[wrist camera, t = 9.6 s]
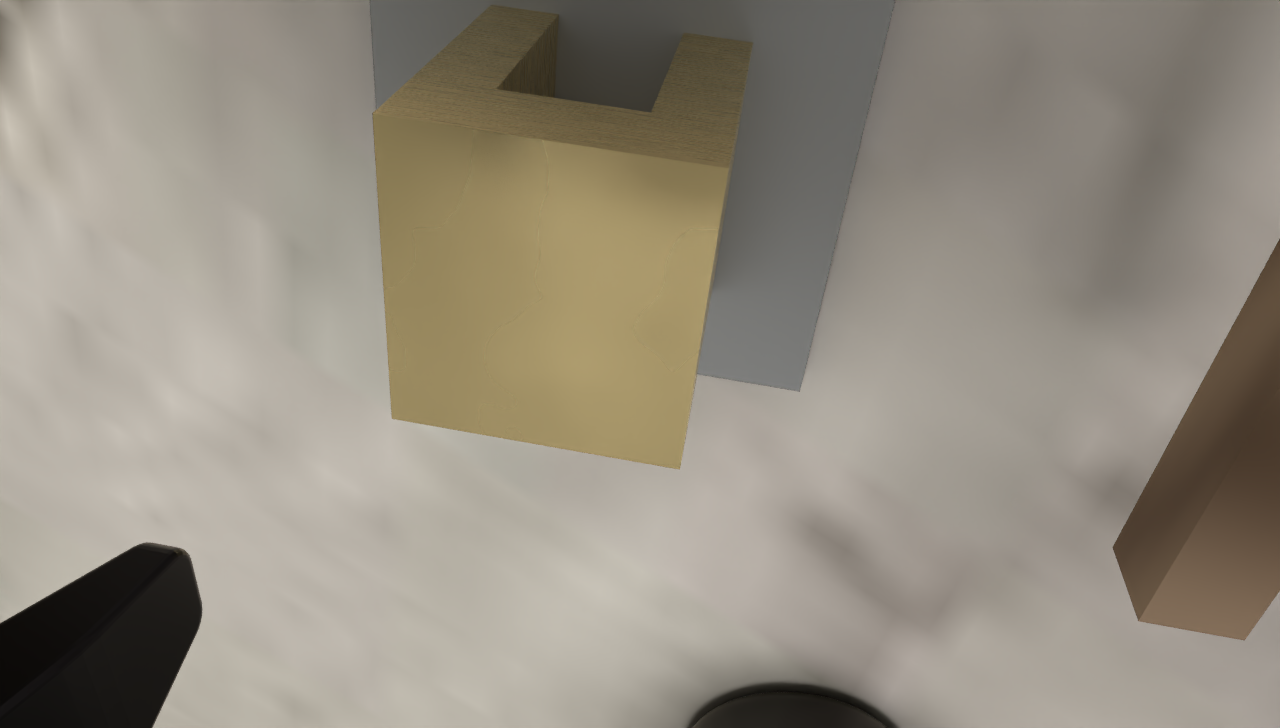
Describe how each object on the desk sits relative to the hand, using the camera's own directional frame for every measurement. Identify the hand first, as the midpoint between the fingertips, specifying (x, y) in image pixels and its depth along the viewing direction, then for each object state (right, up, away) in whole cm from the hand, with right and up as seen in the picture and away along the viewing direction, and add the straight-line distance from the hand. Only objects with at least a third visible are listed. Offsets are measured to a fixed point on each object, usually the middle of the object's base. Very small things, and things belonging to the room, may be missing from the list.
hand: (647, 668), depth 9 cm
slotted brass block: (-1, +7, +9) cm, 11 cm away
